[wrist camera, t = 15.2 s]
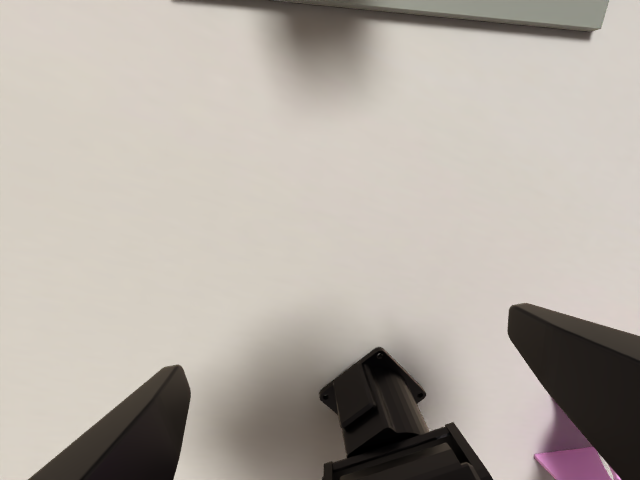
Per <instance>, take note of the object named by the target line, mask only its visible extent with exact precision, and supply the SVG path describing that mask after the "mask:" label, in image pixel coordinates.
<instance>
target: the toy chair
mask: <svg viewBox="0 0 640 480" xmlns="http://www.w3.org/2000/svg"><path fill="white" fill-rule="evenodd" d="M534 458H535V459H536V460H537V461H538V462H539V463H540V464H541V465H542V466H543V467H544V468H545V469H546V470H547V471H548V472H549V473H550V474H551V475H552V476H553V477H554V479H555V480H612V479H611V478H610V476H609V475H608V473H607V471H606V470H605V468H604V466H603V464H602V462H601V460H600V457H599V455H598V453H597V450H596V449H595V448H594V447H587V448H579V449H571V450H563V451H555V452H547V453H539V454H534ZM608 465H609V464H608ZM609 467H610V466H609ZM610 469H611V471H612V474H613V478H614V480H621V479H620V477H619V476H618V475H617V474H616V473H615V472H614V470H613V469H612V468H611V467H610Z"/></svg>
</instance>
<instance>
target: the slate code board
mask: <svg viewBox="0 0 640 480" xmlns="http://www.w3.org/2000/svg"><path fill="white" fill-rule="evenodd" d="M272 1H282V2H293V3H303V4H313V5H323V6H333V7H344V8H354V9H364V10H374V11H385V12H395V13H405V14H415V15H425V16H436V17H446V18H456V19H466V20H476V21H487V22H497V23H507V24H517V25H527V26H538V27H548V28H558V29H568V30H579V31H589V32H592V31H595V30H598V29H601V27H602V23H603V20H604V16H605V13H606V9H607V6H608V2H609V0H272Z"/></svg>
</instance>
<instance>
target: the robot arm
mask: <svg viewBox="0 0 640 480" xmlns="http://www.w3.org/2000/svg"><path fill="white" fill-rule="evenodd" d="M508 335H509V338H510V340H511V341H512V343H513V344H514V346H515V347H516V348H517V350H518V351H519V353H520V354H521V356H522V357H523V358H524V360H525V361H526V363H527V364H528V366H529V367H530V368H531V370H532V371H533V373H534V374H535V376H536V377H537V378H538V380H539V381H540V383H541V384H542V385H543V387H544V388H545V389H546V391H547V392H548V393H549V394H550V396H551V397H552V398H553V399H554V400H555V402H556V403H557V404H558V405H559V406H560V408H561V409H562V410H563V411H564V412H565V413H566V415H567V416H568V417H569V418H570V419H571V421H572V422H573V423H574V424H575V425H576V427H577V428H578V429H579V430H580V431H581V432H582V434H583V435H584V436H585V437H586V438H587V440H588V441H589V442H590V443H591V444H592V445H593V447H594V448H595V449H596V450H597V451H598V453H599V454H600V455H601V456H602V457H603V459H604V460H605V461H606V462H607V463H608V464H609V466H610V467H611V468H612V469H613V470H614V472H615V473H616V474H617V475H618V476H619V477H620V479H621V480H640V336H637V335H634V334H630V333H627V332H624V331H620V330H617V329H613V328H610V327H607V326H603V325H600V324H596V323H593V322H590V321H586V320H583V319H579V318H576V317H573V316H569V315H566V314H562V313H559V312H556V311H552V310H549V309H545V308H542V307H539V306H535V305H532V304H528V303H522V304H517V305H512V306H511V307H510V309H509V317H508ZM379 353H382V354H381V355H378V354H379ZM419 393H420V394H419ZM324 395H326V396H324ZM319 396H320V400H321V401H322V402H323V403H325V404H326V405H327V406H328V407H329V408H331V409H332V410H333V411H334V412H335V413H337V414H338V416H339V422H340V427H341V428H342V432H343V438H344V444H345V449H346V455H347V458H346V459H343V460H340V461H337V462H334V463H333V462H328V463H325V464H324V477H322V480H493V479H492V477H491V475H490V474H489V472H488V471H487V469H486V468H485V466H484V465H483V463H482V462H481V460H480V459H479V458H478V456H477V455H476V453H475V452H474V451H473V449H472V448H471V446H470V445H469V444H468V442H467V441H466V439H465V438H464V437H463V435H462V434H461V432H460V431H459V430H458V428H457V427H456V425H455V424H454V423H453V422H452V423H449V424H446V425H445V427H442V428H439V429H436V430H433V431H430V432H429V429H428V427H427V425H426V423H425V421H424V419H423V417H422V415H421V412H420V410H419V408H418V406H417V403H418V402H420V401H421V400H422V399H424V398H425V396H426V393H425V391H424V389H423V388H422V387H421V386H420V385H419V384H418V383H417V382H416V381H415V380H414V379H413V378H412V377H411V376H410V375H409V374H408V373H407V372H406V371H405V370H404V369H403V368H402V367H401V366H400V365H399V364H398V363H397V362H396V361H395V360H394V359H393V358H392V357H391V356H390V355H389V354H388V353H387V352H386V351H385V350H384V349H383V348H381V347H378V348H375V349H374V350H373V351H371V352H370V353H369V354H367V355H366V356H365V357H364V358H362V359H361V360H360V361H358V362H357V363H356V364H354V365H353V366H352V367H350V368H349V369H348V370H347V371H345V372H344V373H343V374H341V375H340V376H339V377H337V378H336V379H335V380H333V381H332V382H331V383H330V384H328V385H327V386H326V387H324V388H323V389H322V390H321V391H320V392H319ZM190 398H191V391H190V387H189V384H188V381H187V378H186V375H185V373H184V370H183V368H182V366H180V365H173V366H167V367H164V368H162V369H161V370H160V371H159V372H158V373H156V374H155V375H154V376H153V377H151V378H150V379H149V380H148V381H147V382H145V383H144V384H143V385H142V386H141V387H139V388H138V389H137V390H136V391H135V392H133V393H132V394H131V395H130V396H129V397H127V398H126V399H125V400H124V401H122V402H121V403H120V404H119V405H118V406H116V407H115V408H114V409H113V410H112V411H110V412H109V413H108V414H107V415H106V416H104V417H103V418H102V419H101V420H100V421H98V422H97V423H96V424H95V425H93V426H92V427H91V428H90V429H89V430H87V431H86V432H85V433H84V434H83V435H81V436H80V437H79V438H78V439H77V440H75V441H74V442H73V443H72V444H71V445H69V446H68V447H67V448H66V449H64V450H63V451H62V452H61V453H60V454H58V455H57V456H56V457H55V458H54V459H52V460H51V461H50V462H49V463H48V464H46V465H45V466H44V467H43V468H42V469H40V470H39V471H38V472H37V473H35V474H34V475H33V476H32V477H31V478H29V479H28V480H173V479H174V475H175V472H176V468H177V464H178V461H179V456H180V452H181V447H182V441H183V436H184V431H185V425H186V420H187V414H188V409H189V404H190Z"/></svg>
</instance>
